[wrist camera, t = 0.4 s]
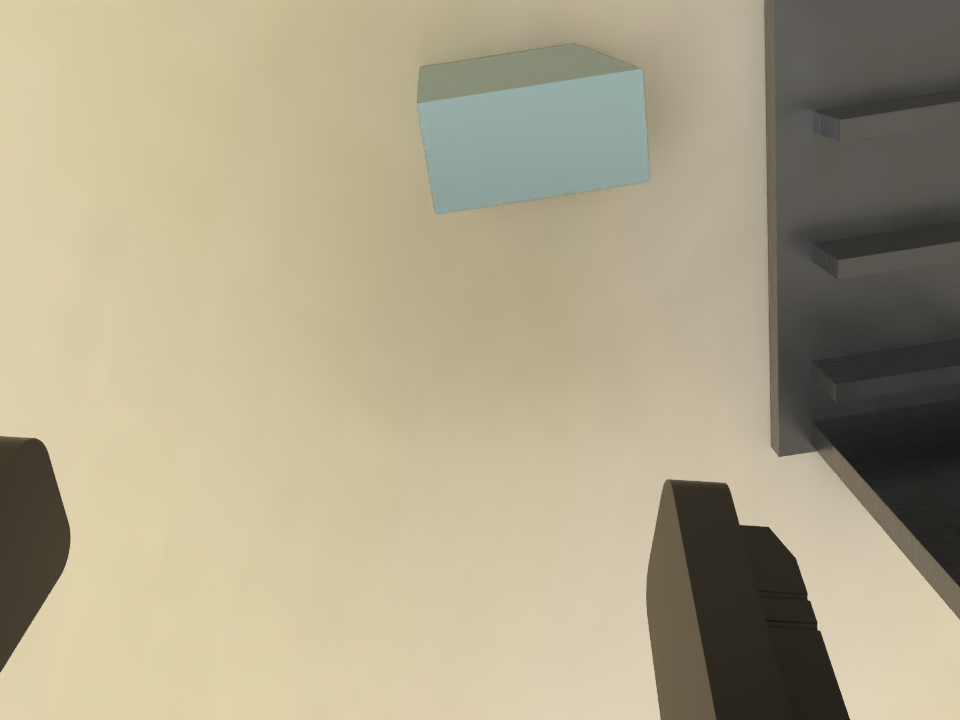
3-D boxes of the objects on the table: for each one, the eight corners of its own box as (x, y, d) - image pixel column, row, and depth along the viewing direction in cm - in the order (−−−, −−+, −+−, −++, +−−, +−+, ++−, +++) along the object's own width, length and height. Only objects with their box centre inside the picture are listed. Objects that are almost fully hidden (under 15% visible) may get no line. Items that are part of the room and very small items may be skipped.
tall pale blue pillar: (419, 67, 34) (416, 103, 23) (573, 43, 34) (642, 68, 23) (432, 144, 36) (435, 214, 24) (580, 122, 36) (650, 181, 24)
